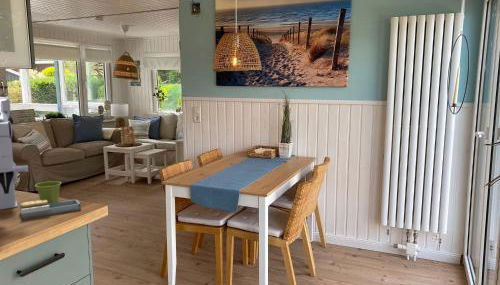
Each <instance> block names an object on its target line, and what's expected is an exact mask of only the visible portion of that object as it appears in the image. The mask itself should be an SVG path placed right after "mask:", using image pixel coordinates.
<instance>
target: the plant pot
mask: <svg viewBox="0 0 500 285" xmlns="http://www.w3.org/2000/svg"><path fill="white" fill-rule="evenodd" d="M61 184H62V181H57V180H50V181H43V182H39V183H35V185H34V187H35V189H36V190H37V193H38V198H39V200H44V199H47V201H48V203H54V202H60V201H59V200H60V199H59V197H60V188H61Z"/></svg>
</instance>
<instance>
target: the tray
mask: <svg viewBox="0 0 500 285" xmlns="http://www.w3.org/2000/svg"><path fill="white" fill-rule="evenodd" d="M48 205H49V206H50V215H57V214H60V213H68V212H73V211H80V210H82V206H81V205H82V203H80V201H79V200H78V198H76V199H69V200H63V201H61V200H60V201H58V202H54V203H48Z"/></svg>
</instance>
